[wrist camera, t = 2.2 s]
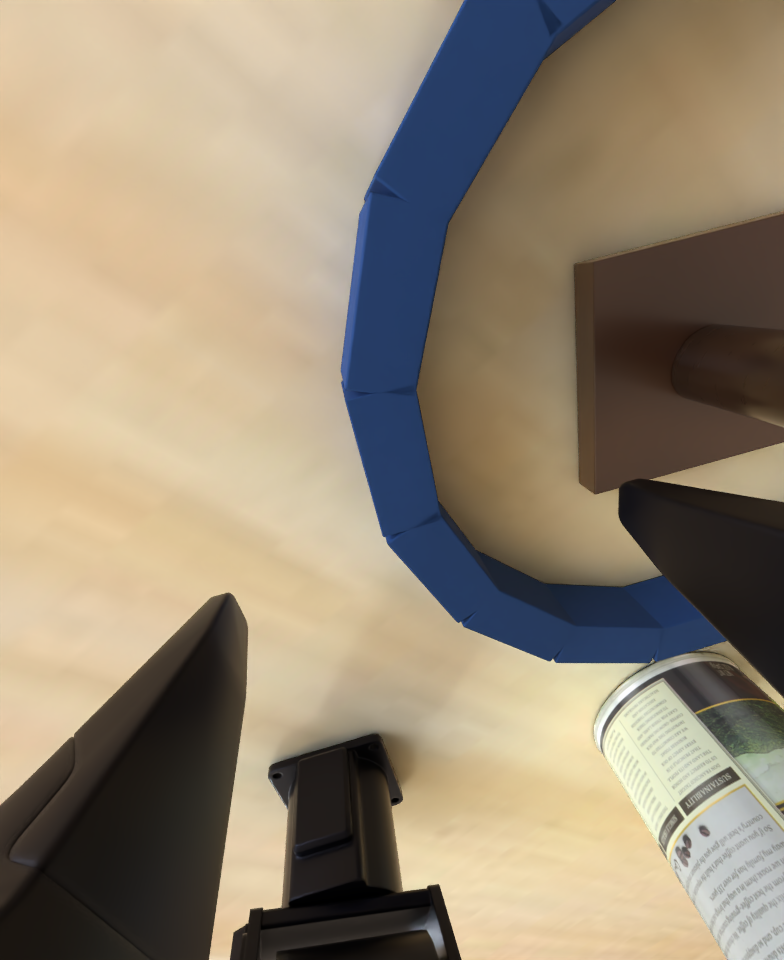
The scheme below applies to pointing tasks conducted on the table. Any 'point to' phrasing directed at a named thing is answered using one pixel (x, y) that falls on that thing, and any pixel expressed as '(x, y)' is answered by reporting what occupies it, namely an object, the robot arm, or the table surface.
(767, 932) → the coffee can
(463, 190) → the ring
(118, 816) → the robot arm
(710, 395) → the peg stand
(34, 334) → the table surface
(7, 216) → the table surface
